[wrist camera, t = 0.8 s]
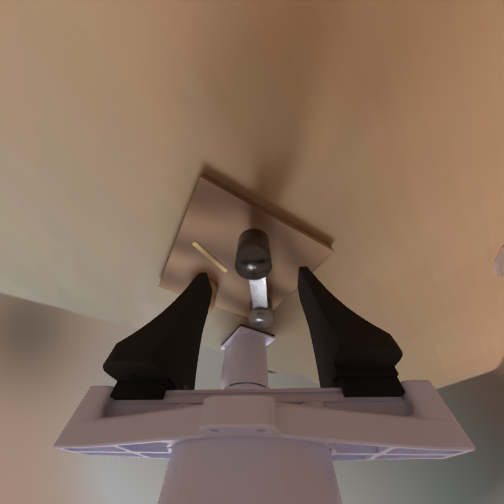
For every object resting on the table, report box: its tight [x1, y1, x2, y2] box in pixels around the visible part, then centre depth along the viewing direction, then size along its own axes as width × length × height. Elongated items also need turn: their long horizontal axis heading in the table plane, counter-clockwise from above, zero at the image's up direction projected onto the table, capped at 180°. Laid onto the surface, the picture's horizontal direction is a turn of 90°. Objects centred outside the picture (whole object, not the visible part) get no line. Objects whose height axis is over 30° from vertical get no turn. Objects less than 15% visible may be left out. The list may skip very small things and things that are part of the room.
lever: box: [235, 228, 274, 329], centre depth 22 cm, size 16×4×6 cm, turn 5°
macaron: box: [208, 279, 218, 312], centre depth 26 cm, size 4×4×3 cm
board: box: [158, 174, 334, 318], centre depth 25 cm, size 18×18×1 cm
